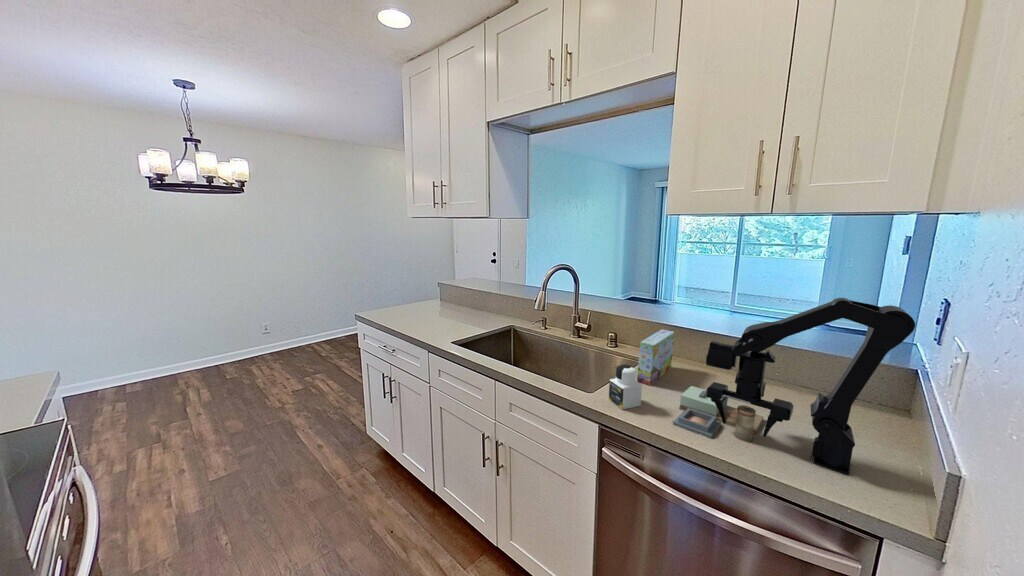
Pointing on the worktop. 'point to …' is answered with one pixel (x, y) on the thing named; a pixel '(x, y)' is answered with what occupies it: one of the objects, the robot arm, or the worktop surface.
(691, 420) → the blue-grey square tray
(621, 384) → the medicine bottle
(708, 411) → the cover
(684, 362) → the worktop surface
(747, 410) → the peg
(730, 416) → the board
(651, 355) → the snack box
